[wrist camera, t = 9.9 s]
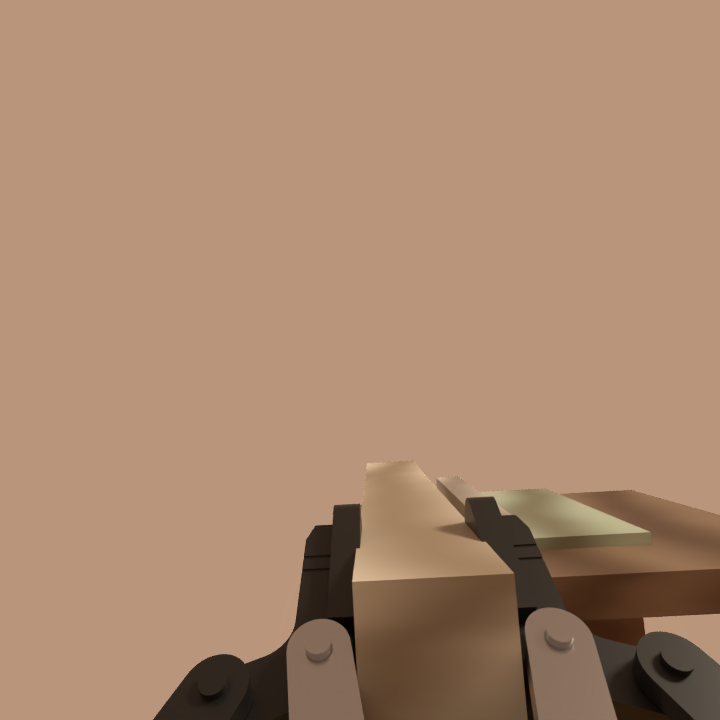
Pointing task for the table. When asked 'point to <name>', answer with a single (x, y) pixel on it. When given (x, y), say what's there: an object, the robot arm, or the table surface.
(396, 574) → the ash bar
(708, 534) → the walnut shelf
